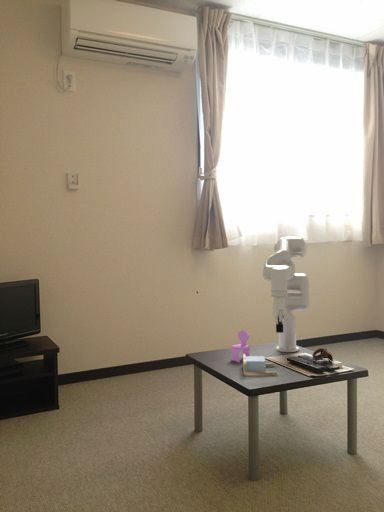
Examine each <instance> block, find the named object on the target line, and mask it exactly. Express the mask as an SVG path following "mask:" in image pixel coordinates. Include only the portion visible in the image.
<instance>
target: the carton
mask: <svg viewBox="0 0 384 512" xmlns="http://www.w3.org/2000/svg"><path fill="white" fill-rule="evenodd" d="M266 363H267V362H266V357H265V356H261V355H259V356H258V355H255V356H253V355H250V356H246V372H267V371H266V370H267V369H266V368H267V367H266Z"/></svg>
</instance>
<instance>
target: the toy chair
mask: <svg viewBox="0 0 384 512" xmlns="http://www.w3.org/2000/svg"><path fill="white" fill-rule="evenodd" d="M237 338H238V340H239V341H240V343H239V344H235V345H231V348H230V352H231V359H230V360H231V361H233V362H237V363H241V361H240V358H239V353H240V351H241V350H242V355H243V354H245V355H246V356H251V355H250V346H249V345H247V341H248V340H249V338H250V334H249V332H248V331H247V330H245V329H243V330H239V331H238V332H237Z"/></svg>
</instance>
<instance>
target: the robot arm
mask: <svg viewBox="0 0 384 512" xmlns="http://www.w3.org/2000/svg"><path fill="white" fill-rule="evenodd" d="M273 247H274V249H273V250H274V253H273V254H271V255H270V256H269V257H267V258H266V259H265V261H264V264H263V269H262V277H263V279H264V280H265V281H267V282H268V281H269V282H270V295H271V296H270V297H271V298H272V317H273V318H274V319H276V320H275V321H276V324H275V332H276V334H277V333H278V345H277V346H276V347H275V350H276V351H278V352H281V353H296V352H299V350H300V347H299V346H297V318H296V316H295V314H294V313H293V311H297V312H299V311H300V312H303V311H308V309H309V307H310V280H309V275H307V274H306V273H296V264H295V262H294V261H293V259H292V258H303V257H305V256H306V255H307V247H308V246H307V243H306V241H305V239H304V238H302V237H300V236H285V237H280V238H279V239H278V240H277V242H276V243H275V244H274V246H273ZM288 291H293V292H294V291H295V292H296V293H295V292H294V293H293V292H288ZM297 291H298V293H297ZM299 292H300V293H299Z"/></svg>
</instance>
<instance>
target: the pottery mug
mask: <svg viewBox="0 0 384 512" xmlns="http://www.w3.org/2000/svg"><path fill="white" fill-rule="evenodd" d="M311 356H312V361H313V360H315V362H317V361H324V359H323V358H328V359H327V360H329V359H330V360H331V361H334V358H333V356H332V353H331V352H330V351H329V350H328V349H327V348H325V347H321V348H318V349H316V350H315V351H314V352H313V353H312V355H311ZM331 361H330V362H331Z"/></svg>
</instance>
